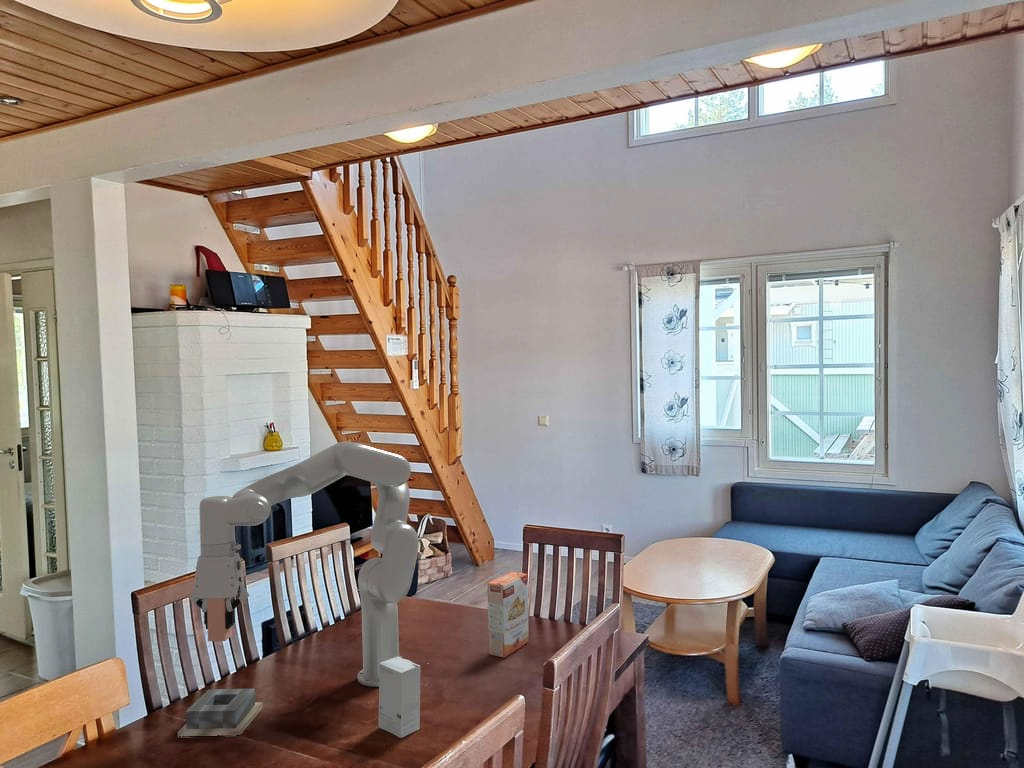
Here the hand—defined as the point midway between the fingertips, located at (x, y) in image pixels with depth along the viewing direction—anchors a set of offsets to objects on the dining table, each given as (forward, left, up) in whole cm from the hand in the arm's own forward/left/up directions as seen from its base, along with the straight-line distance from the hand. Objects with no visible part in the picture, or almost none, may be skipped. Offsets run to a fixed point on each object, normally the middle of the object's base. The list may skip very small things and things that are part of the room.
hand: (219, 626), depth 163 cm
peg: (0, 0, -3) cm, 3 cm away
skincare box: (-43, +5, -23) cm, 49 cm away
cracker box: (-67, -41, -23) cm, 82 cm away
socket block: (0, 0, -22) cm, 22 cm away
